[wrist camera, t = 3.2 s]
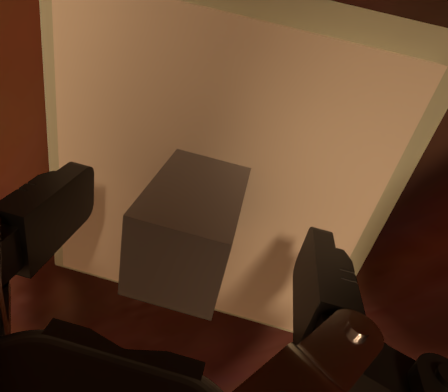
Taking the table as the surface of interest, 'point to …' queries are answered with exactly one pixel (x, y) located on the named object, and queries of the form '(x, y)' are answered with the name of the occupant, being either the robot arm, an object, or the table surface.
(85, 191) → the robot arm
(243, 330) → the table surface
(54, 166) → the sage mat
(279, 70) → the cover board
